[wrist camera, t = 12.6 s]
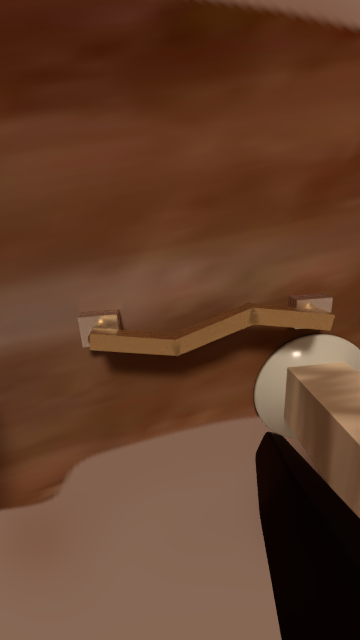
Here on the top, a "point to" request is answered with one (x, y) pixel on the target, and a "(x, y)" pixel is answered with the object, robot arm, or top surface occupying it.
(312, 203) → the top surface
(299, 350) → the coaster
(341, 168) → the top surface
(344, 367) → the maple peg
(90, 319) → the zigzag wooden handle
